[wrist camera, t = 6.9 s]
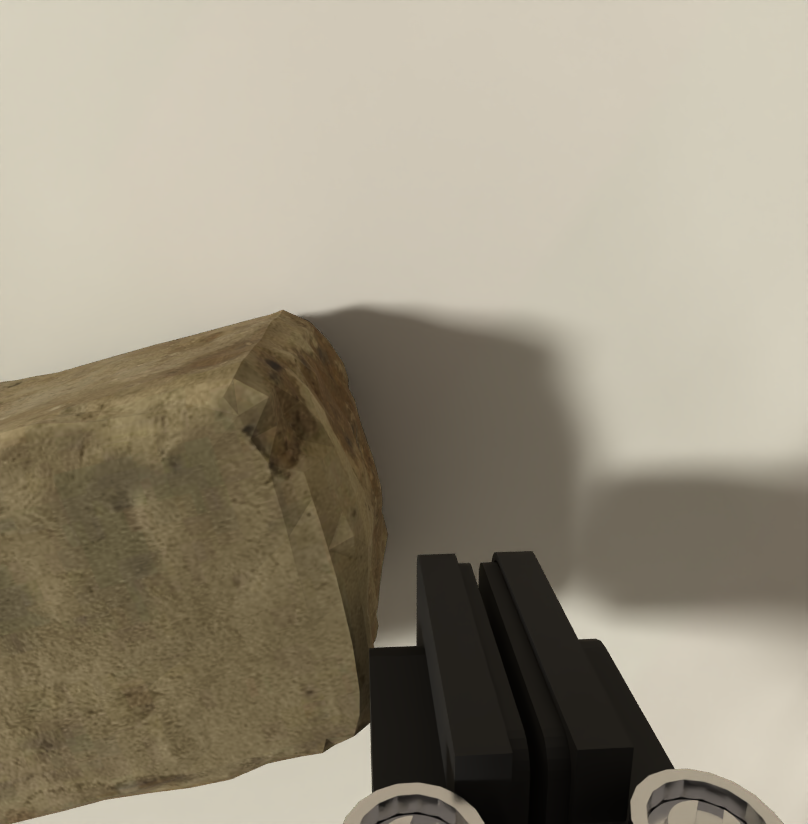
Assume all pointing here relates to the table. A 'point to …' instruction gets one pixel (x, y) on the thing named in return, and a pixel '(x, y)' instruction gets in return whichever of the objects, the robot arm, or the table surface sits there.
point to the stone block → (183, 566)
